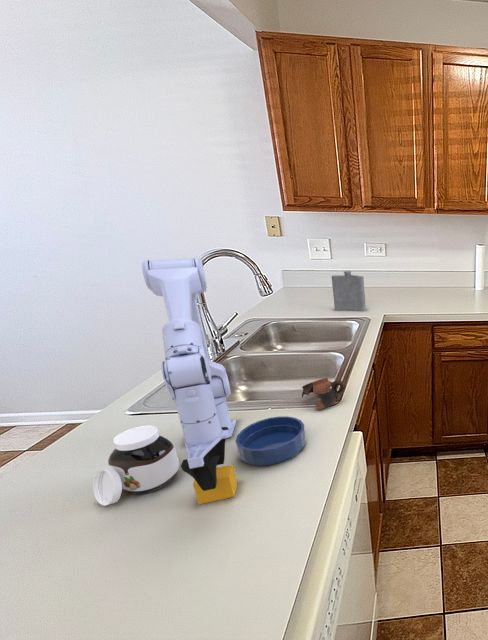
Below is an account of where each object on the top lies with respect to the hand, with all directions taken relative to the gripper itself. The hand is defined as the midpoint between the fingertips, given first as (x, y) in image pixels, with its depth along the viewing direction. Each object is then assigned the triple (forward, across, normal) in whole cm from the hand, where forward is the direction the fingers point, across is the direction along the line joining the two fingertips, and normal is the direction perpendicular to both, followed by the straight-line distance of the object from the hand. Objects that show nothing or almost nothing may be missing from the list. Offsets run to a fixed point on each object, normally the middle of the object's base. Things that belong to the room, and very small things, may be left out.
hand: (214, 475), depth 78 cm
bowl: (+4, +13, -9) cm, 17 cm away
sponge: (+4, 0, 0) cm, 5 cm away
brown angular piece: (+5, +33, -21) cm, 39 cm away
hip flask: (+4, +131, -36) cm, 136 cm away
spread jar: (+5, +7, +15) cm, 17 cm away
